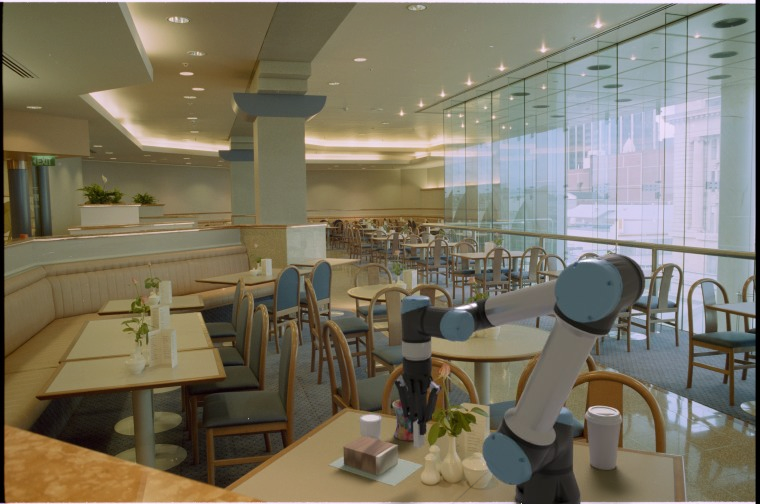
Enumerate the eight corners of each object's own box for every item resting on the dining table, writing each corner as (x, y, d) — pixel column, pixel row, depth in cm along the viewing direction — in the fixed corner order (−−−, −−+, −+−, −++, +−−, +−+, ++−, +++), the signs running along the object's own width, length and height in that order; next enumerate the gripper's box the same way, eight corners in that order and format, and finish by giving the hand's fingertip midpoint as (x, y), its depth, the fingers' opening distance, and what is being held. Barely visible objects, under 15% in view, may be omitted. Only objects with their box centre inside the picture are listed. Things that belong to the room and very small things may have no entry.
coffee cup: (581, 468, 158) (582, 414, 157) (587, 454, 167) (587, 402, 165) (619, 475, 154) (620, 419, 152) (623, 460, 162) (624, 407, 161)
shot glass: (356, 437, 182) (355, 415, 181) (376, 433, 184) (375, 412, 184) (365, 446, 175) (364, 423, 175) (385, 441, 178) (385, 419, 178)
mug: (403, 445, 175) (402, 411, 174) (387, 435, 183) (386, 402, 182) (436, 437, 181) (435, 403, 180) (419, 427, 189) (418, 394, 188)
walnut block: (397, 445, 162) (363, 435, 169) (378, 457, 155) (343, 446, 162) (398, 462, 163) (363, 452, 170) (379, 475, 155) (343, 464, 162)
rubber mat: (423, 467, 161) (423, 465, 161) (394, 488, 150) (394, 485, 150) (359, 448, 174) (359, 446, 174) (328, 466, 162) (328, 464, 162)
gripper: (446, 356, 150) (448, 446, 152) (403, 350, 157) (405, 435, 159) (431, 363, 144) (433, 456, 146) (387, 356, 151) (390, 445, 153)
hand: (419, 445), depth 153 cm, fingers closed
